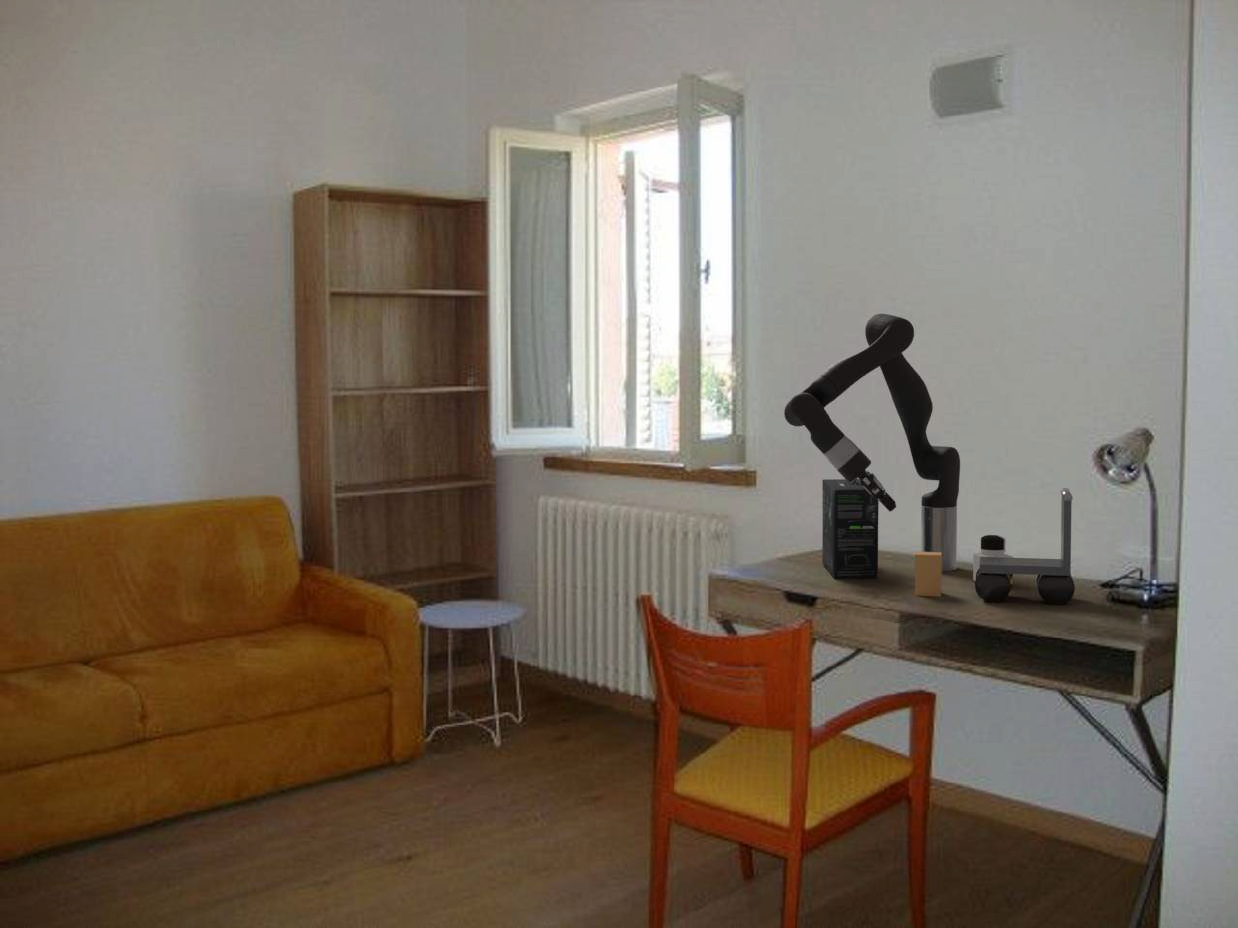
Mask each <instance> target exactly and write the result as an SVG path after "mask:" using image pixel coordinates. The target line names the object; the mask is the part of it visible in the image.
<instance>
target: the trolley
mask: <svg viewBox="0 0 1238 928" xmlns="http://www.w3.org/2000/svg"><path fill="white" fill-rule="evenodd" d="M1060 494H1061V495H1060V496H1061V511H1060V513H1061V515H1060V517H1061V520H1060V525H1061V527H1060V558H1032V557H1030V558H1029V557H1013V558H1005V557H980V567H979V569H978V570H977V573H976V579H975V581H974V587H975V593H976V594H977V595H978V597H979V598H981V599H982V600H983V601H985V602H988V603H992V602H995V603H1000V602H1001V601H1003V600H1006V598H1007V597H1008V596H1009V594H1010V592H1011V589H1012V586H1011V585H1012V584H1011V582H1010V574H1013V575H1026V576H1027V575H1033V576H1036V585H1037V590H1038V594H1039V596H1040V598H1041V599H1042V600H1043V601H1044V602H1045V603H1047V604H1049V605H1054V606H1060V605H1064V604H1066V603H1068V602H1069V601H1071V600H1072V598H1073V596H1074V594H1075V591H1076V589H1075V587H1076V586H1075V583H1074V580H1073V576H1072V574H1071V573H1072V572H1071V571H1072V570H1071V568H1072V567H1071V564H1072V563H1071V562H1072V561H1071V560H1072V557H1071V555H1072V504H1073V503H1072V501H1073V495H1072V494H1071V491H1070V489H1069V488H1067V487H1063V488H1061V490H1060Z"/></svg>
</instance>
